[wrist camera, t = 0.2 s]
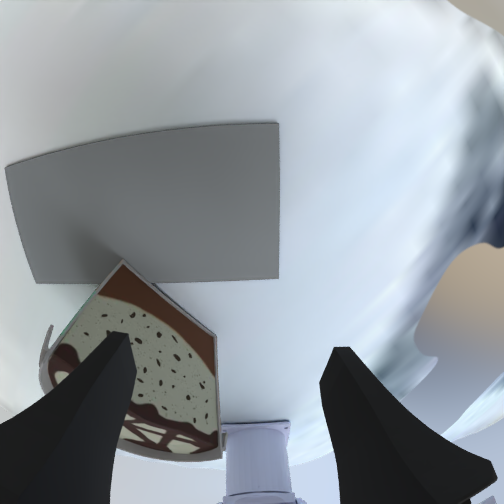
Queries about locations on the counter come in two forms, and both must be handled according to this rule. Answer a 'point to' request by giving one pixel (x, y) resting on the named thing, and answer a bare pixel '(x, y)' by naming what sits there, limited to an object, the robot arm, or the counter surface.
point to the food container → (149, 367)
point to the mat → (153, 206)
